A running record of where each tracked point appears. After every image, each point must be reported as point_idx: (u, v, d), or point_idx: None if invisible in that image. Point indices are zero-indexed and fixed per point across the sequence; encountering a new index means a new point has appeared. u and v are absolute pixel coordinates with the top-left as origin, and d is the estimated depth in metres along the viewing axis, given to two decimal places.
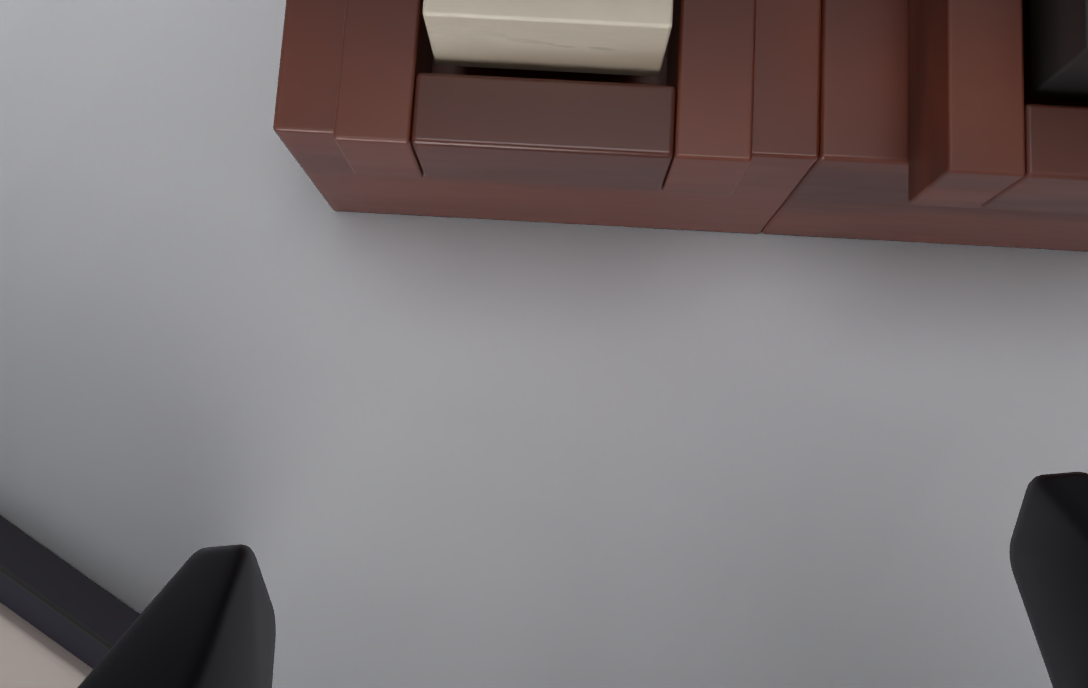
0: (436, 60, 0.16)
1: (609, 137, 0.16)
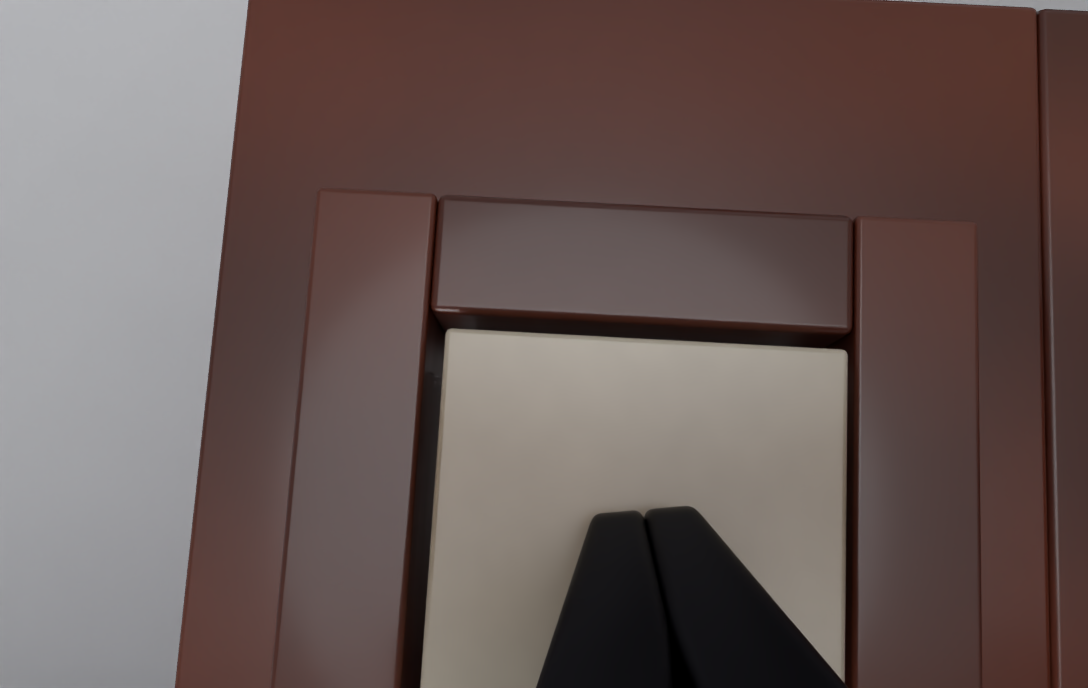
0: None
1: None
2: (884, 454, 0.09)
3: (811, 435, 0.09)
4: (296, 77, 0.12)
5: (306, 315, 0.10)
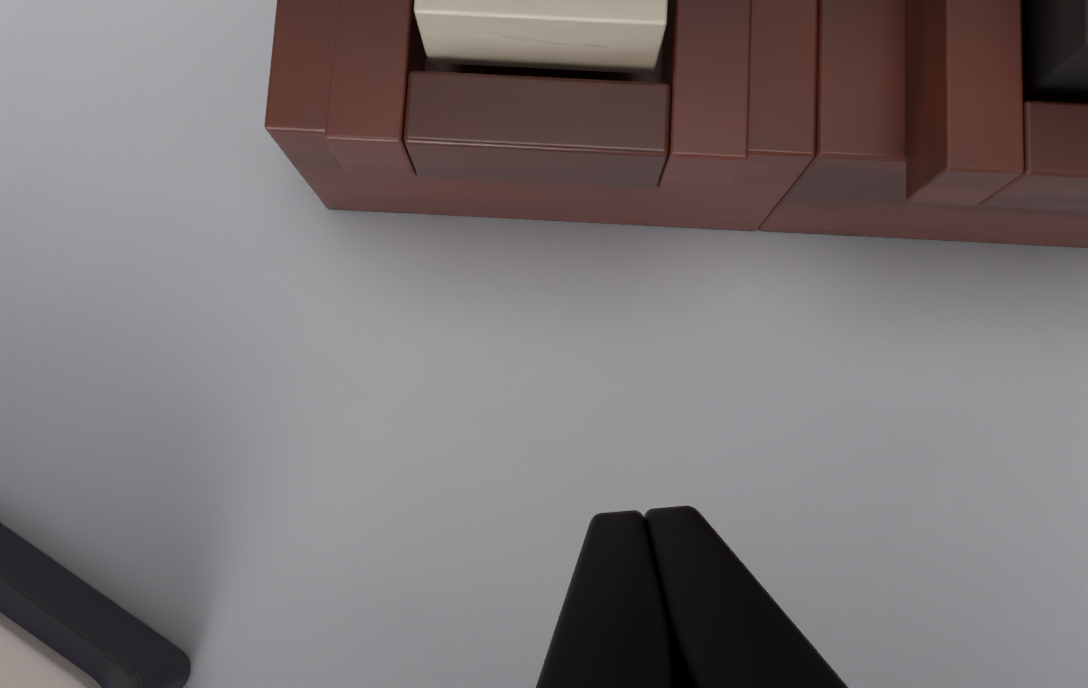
0: (428, 58, 0.16)
1: (603, 135, 0.15)
2: None
3: None
4: None
5: None
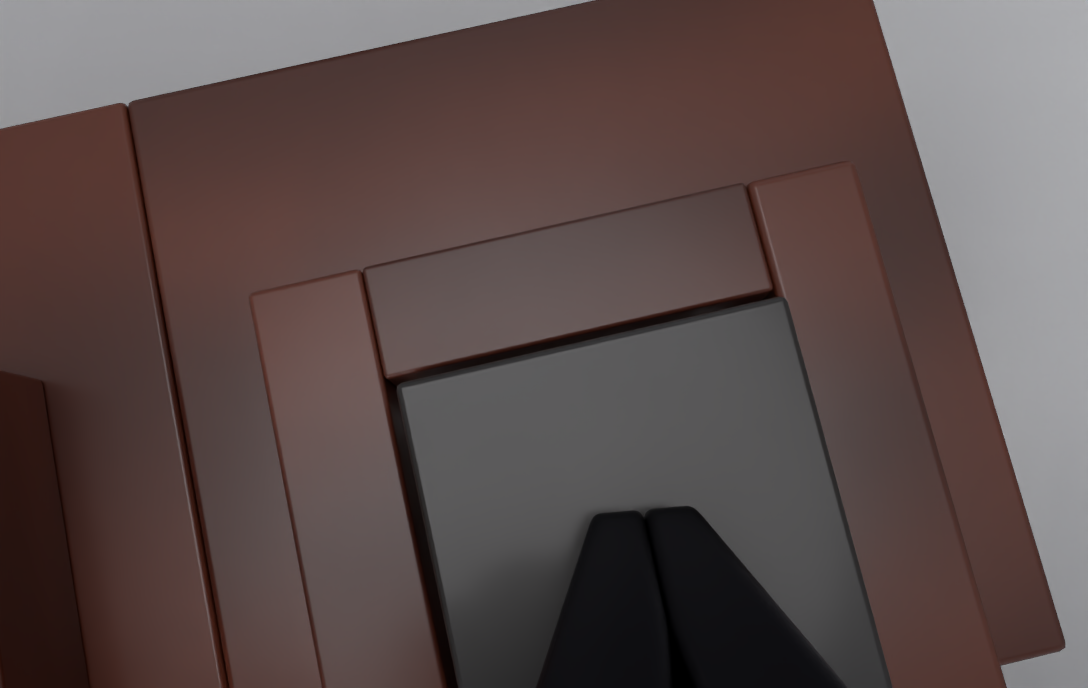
0: None
1: None
2: None
3: None
4: None
5: None
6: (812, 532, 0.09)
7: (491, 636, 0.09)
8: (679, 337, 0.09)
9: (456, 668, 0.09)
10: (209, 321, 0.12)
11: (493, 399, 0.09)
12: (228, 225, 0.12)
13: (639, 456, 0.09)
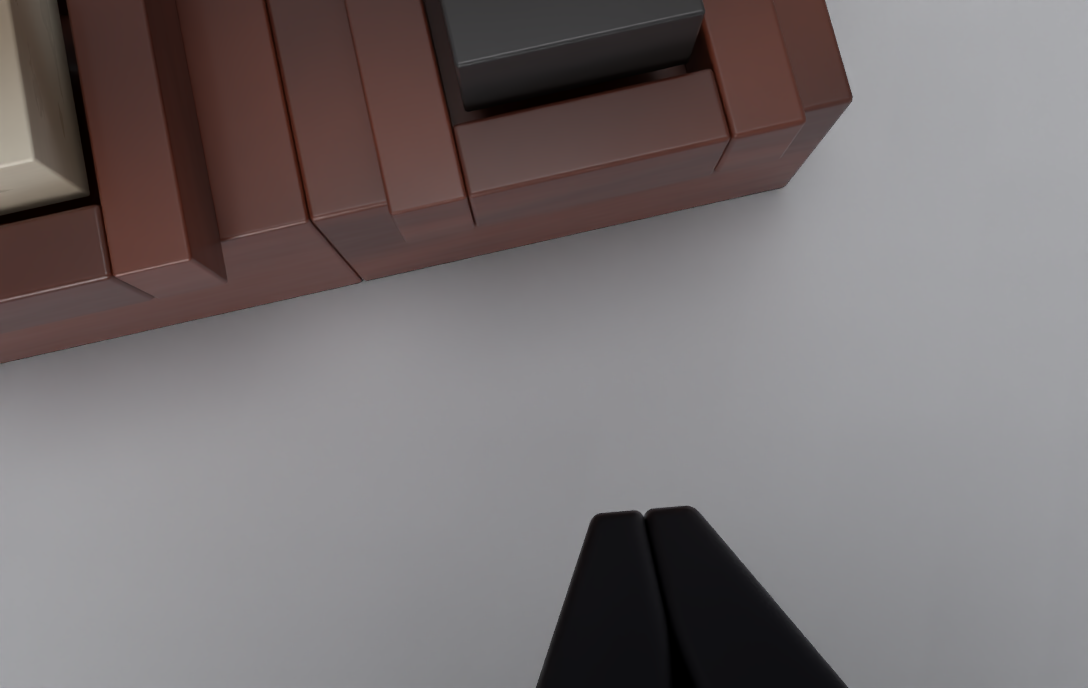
0: None
1: (41, 275, 0.15)
2: (85, 15, 0.16)
3: None
4: None
5: None
6: None
7: None
8: None
9: None
10: None
11: None
12: None
13: None
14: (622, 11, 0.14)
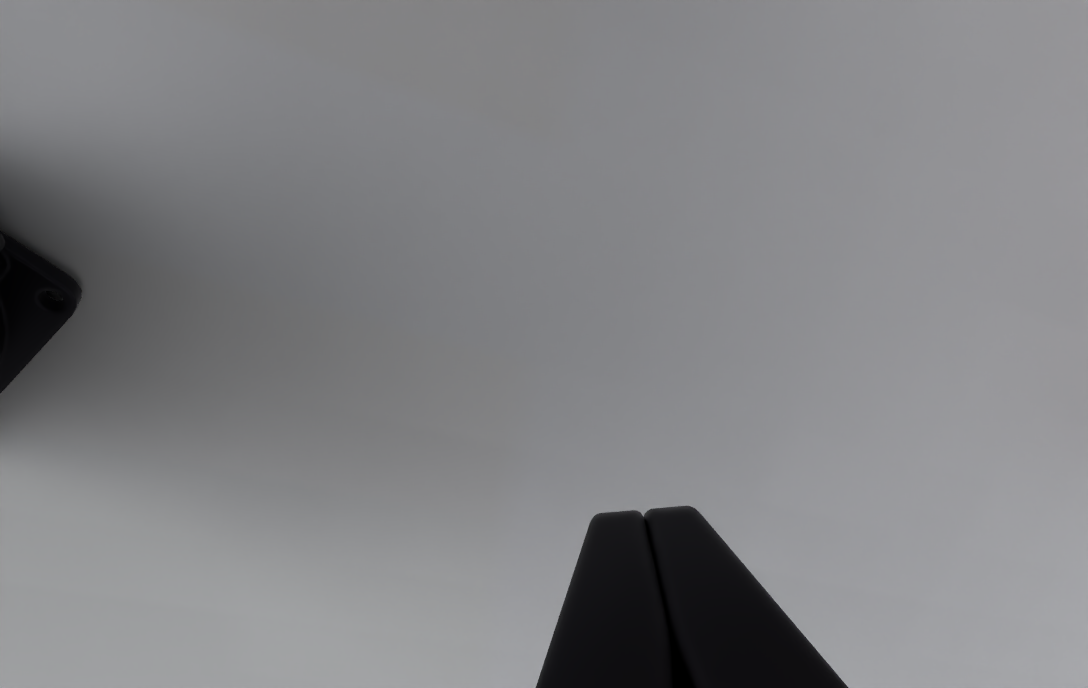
0: None
1: None
2: None
3: None
4: None
5: None
6: None
7: None
8: None
9: None
10: None
11: None
12: None
13: None
14: None
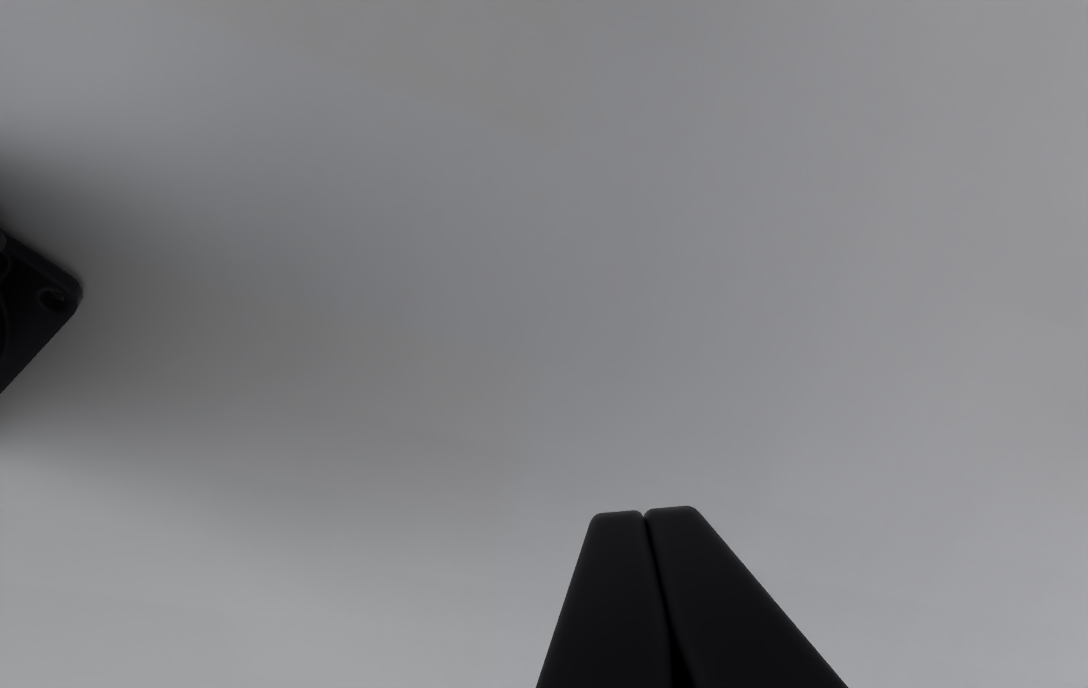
0: None
1: None
2: None
3: None
4: None
5: None
6: None
7: None
8: None
9: None
10: None
11: None
12: None
13: None
14: None
